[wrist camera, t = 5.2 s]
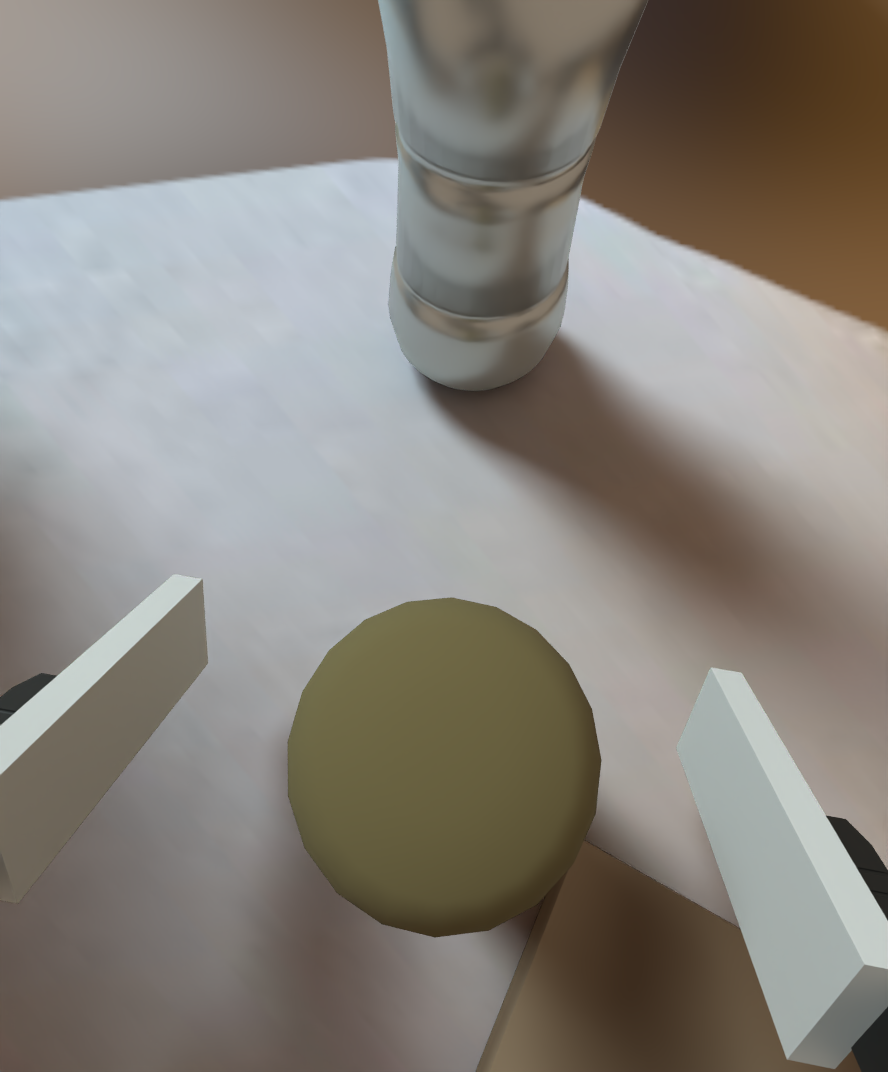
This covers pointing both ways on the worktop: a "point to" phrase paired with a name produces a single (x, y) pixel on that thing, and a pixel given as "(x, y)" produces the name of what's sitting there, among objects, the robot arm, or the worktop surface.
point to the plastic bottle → (492, 172)
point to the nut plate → (634, 985)
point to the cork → (443, 767)
